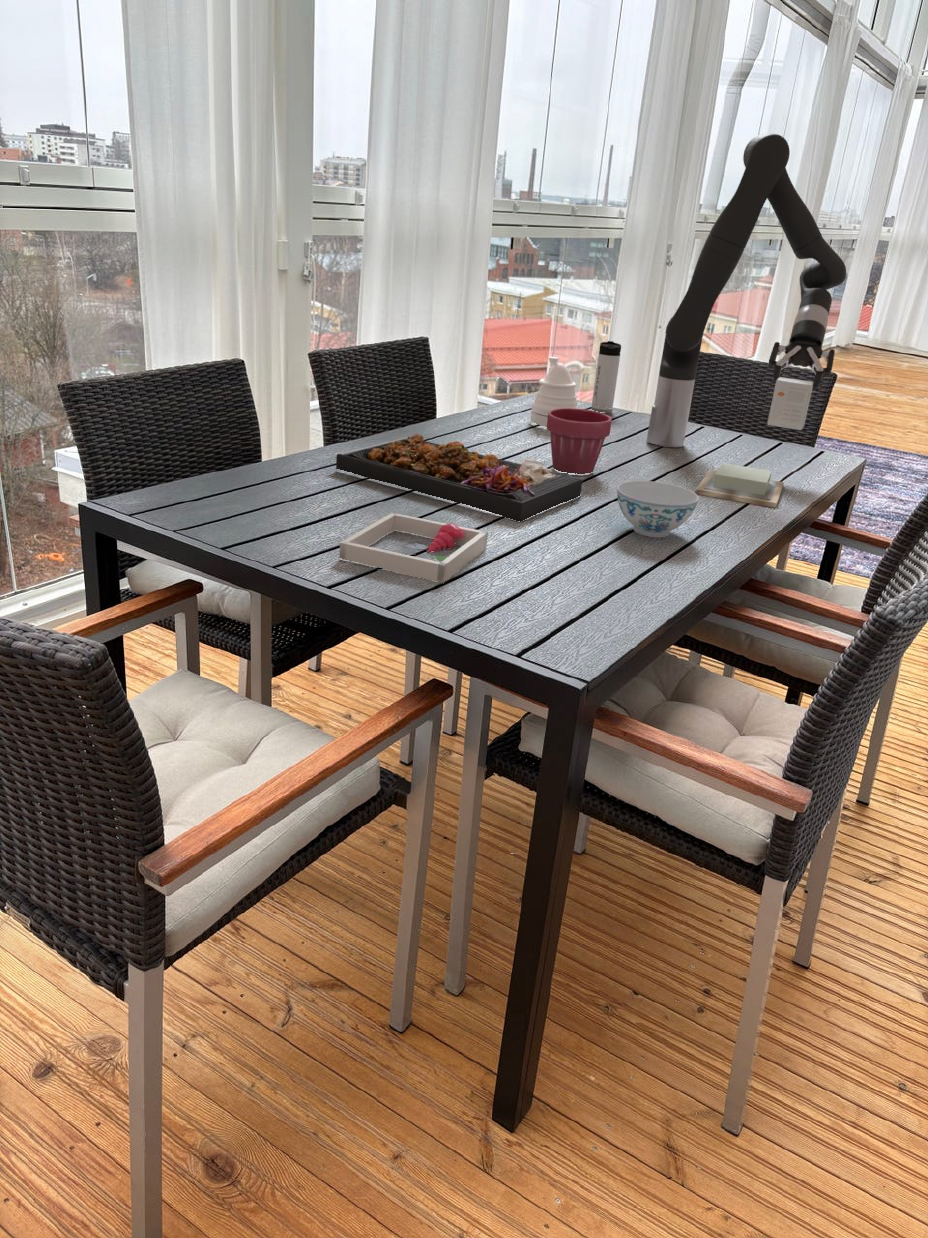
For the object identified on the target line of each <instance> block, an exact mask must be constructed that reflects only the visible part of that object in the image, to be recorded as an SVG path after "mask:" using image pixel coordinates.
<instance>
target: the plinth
mask: <svg viewBox="0 0 928 1238" xmlns="http://www.w3.org/2000/svg"><path fill="white" fill-rule="evenodd" d="M716 471H717V472H716V474H715V478H714V483H713V487H718V488H724V489H730V490H736V491H741V492H747V493H753V494H758V495H765V492H766V490H767V487H768V485H769V482H770V480H771V476H772V472H773V471H772V470H768V469H762V468H761V469H760V468H757V467H756V468H755V467H749V466H743V465H738V464H737V465H736V464H731V463H727V462H726V463H725V462H721V464H720V466H719V467H718V469H717V470H716Z"/></svg>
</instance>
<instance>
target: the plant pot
mask: <svg viewBox="0 0 928 1238" xmlns="http://www.w3.org/2000/svg"><path fill="white" fill-rule="evenodd" d="M612 421H613V420H612V417H611V416H610V415H607V414H603V413H600V412H596V411H592V410H591V409H584V408H579V409H575V408H560V409H553V410H551V411H549V412H548V419H547V429H548V430H547V431H549V435H550V436H549V439H550V449H551V452H550V453H551V459H552V460H551V461H552V469H553V468H554V469H556V470H558V471H561V472H567V473H575V474H576V473H577V474H585V473H591V472H593V473H594V470H595V467H596V464H597V462H598V459H599V456H600V454H601V451H602V448H603V446H604V443H605V439H606V438H607V437H609V436H610V434H611V429H612ZM554 469H553V470H554Z"/></svg>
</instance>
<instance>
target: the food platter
mask: <svg viewBox="0 0 928 1238" xmlns="http://www.w3.org/2000/svg"><path fill="white" fill-rule="evenodd" d="M415 455H416V456H415ZM335 458H336V463H335V464H336V467H335V470H336V469H340V470H344V471H347V472H352V473H354V474H358V475H361V476H364V477H368V478H371V479H375V480H379V481H383V482H387V483H391V484H395V485H398V486H401V487H405V488H408V489H412V490H415V491H418V492H421V493H425V494H428V495H432V496H436V497H440V498H443V499H447V500H451V501H454V502H460V503H462V504H466V505H470V506H472V507H476V508H479V509H482V510H486V511H489V512H492V513H495V514H499V515H502V516H504V517H506V518H510V519H513V520H516V521H520V522H521V521H523V520H525V519H527V518H529V517H531V516H533V515H536V514H537V513H540V512H542V511H544V510H547V509H549V508H551V507H553V506H556V505H558V504H560V503H563V502H567V501H569V500H571V499H574V498H576V497H578V496H580V495H581V494H582V487H583V479H582V478H580V477H577V476H576V477H575V476H572V475H569V474H568V473H559V472H556V471H553V470H552V469H550V468H547V467H546V466H544V465H545V462H544V463H543V462H542V461H538V460H536V459H535V458H534V459H532V458H531V459H525V460H523V462H521V463H517V462H512V461H509V460H505V459H501V458H498V457H497V456H496V455H495V454H486V455H484V454H480V453H479V452H478V451H476V450H472V451H469V449H468V448H467V447H466V446H464V444H462V443H461V442H460V441H450V442H447V444H446V443H445V444H444V443H442V444H439V443H435V442H431V441H426V440H424V436H423V435H421V434H420V433H415V434H414V435H413V434H412V436H406V437H401V438H398V439H397V438H396V439H394V440H389V441H385V442H381V443H378V444H377V443H376V444H374V445H369V446H365V447H360V448H357V449H354V450H353V449H352V450H349V451H345V452H340V453H337V454H336V457H335ZM485 491H486V492H485ZM580 497H581V496H580ZM513 520H512V521H513ZM516 521H515V522H516ZM525 521H526V520H525ZM520 522H519V523H520ZM523 522H524V521H523ZM521 523H522V522H521Z"/></svg>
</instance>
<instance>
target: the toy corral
mask: <svg viewBox="0 0 928 1238" xmlns="http://www.w3.org/2000/svg"><path fill="white" fill-rule="evenodd" d="M446 524H447V523H444V522H441V521H435V520H429V519H424V518H420V517H416V516H410V515H405V514H401V513H395V512H390V513H389V514H387V515H385V516H383V517H382V518H380V519H378V520H377V521H375V522H373V523H372V524H370V525H368V526H366V527H365V528H363V529H361V530H360V531H358V532H356V533H354V534H352V535H351V536H349V537H347V538H345V539H344V540H342V541H341V542H339V558H342V559H345V560H349V561H355V562H359V563H363V564H368V565H371V566H375V567H379V568H383V569H387V570H390V571H395V572H399V573H402V574H403V573H404V574H407V575H411V576H415V577H420V578H423V579H422V580H424V579H428V580H427V581H429V580H433V581H438V582H441V583H440V584H442V583H443V584H445V583H446V582H447V581H448V580H449V579H451V578H452V577H453V576H454V575H456V574H457V573H458V572H459V571H461V570H462V569H463V568H464V567H466V566H467V565H468V564H469V563H470V562H469V561H471V562H472V561H473V560H474V559H476V558H477V557H478V556H480V555H481V554H482V553H483V552H484V551H486V550H487V545H488V534H489V532H488V531H485V530H484V531H483V530H480V529H479V530H478V529H473V528H469V527H464V526H460V525H457V526H458V527H459V528H460V529H461V530H462V532H463V533H464V537H463V538H462V539H457V538H454V542H455V543H456V544H461V545H463V546H461V545H460V547H459V548H458V549H457V550H455V551H454V552H452V553H451V554H449V555H448V556H449V557H447V558H446V559H445V560H443V561H442V562H437V561H434V560H433V559H427V558H423V557H419V556H410V555H409V554H407V555H405V554H406V553H404V554H402V553H400V552H396V551H395V552H394V551H391V550H386V549H383V548H382V549H381V548H378V547H372V546H370V547H369V546H368V545H370V544H372V543H373V542H375V541H376V540H378V539H379V538H381V537H382V536H384V535H386V534H387V533H389V532H390V531H393V530H398V531H405V532H409V533H414V534H418V535H422V536H427V537H431V538H435V537H436V535H437V534H438V533H439V529H440V528H441V527H442V526H443V525H446ZM456 544H455V545H456ZM481 552H482V553H481ZM475 557H476V558H475ZM339 558H338V559H339ZM468 562H469V563H468ZM467 563H468V564H467ZM466 564H467V565H466ZM465 565H466V566H465ZM463 566H464V567H463ZM462 567H463V568H462ZM461 568H462V569H461ZM460 569H461V570H460ZM458 570H459V571H458ZM457 571H458V572H457ZM456 572H457V573H456ZM455 573H456V574H455ZM402 574H401V575H402ZM453 574H454V575H453ZM452 575H453V576H452ZM411 576H410V577H411ZM451 576H452V577H451ZM415 577H414V578H415ZM450 577H451V578H450ZM420 578H419V579H420ZM448 578H449V579H448ZM447 579H448V580H447ZM446 580H447V581H446ZM433 581H432V582H433ZM445 581H446V582H445ZM444 582H445V583H444Z"/></svg>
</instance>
